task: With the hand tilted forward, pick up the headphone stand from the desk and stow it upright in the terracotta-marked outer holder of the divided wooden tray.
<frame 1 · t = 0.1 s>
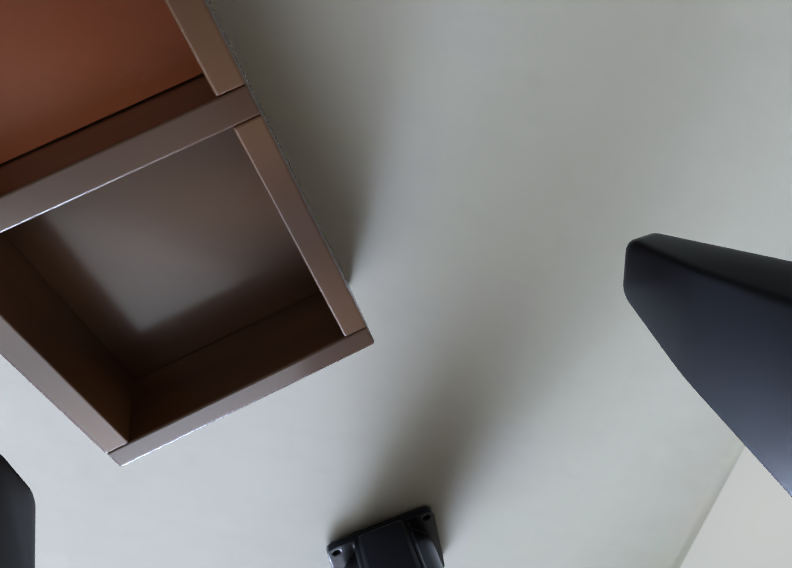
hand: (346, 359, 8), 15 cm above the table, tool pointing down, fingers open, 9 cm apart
divided wooden tray: (97, 133, 19), on the table
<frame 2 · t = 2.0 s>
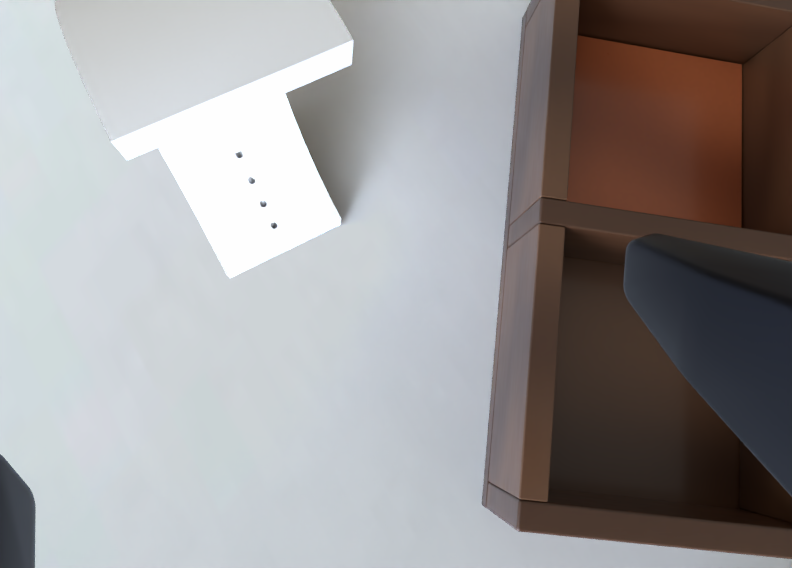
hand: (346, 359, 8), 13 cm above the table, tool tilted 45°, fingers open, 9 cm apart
headphone stand: (251, 184, 22), on the table
divided wooden tray: (629, 259, 23), on the table
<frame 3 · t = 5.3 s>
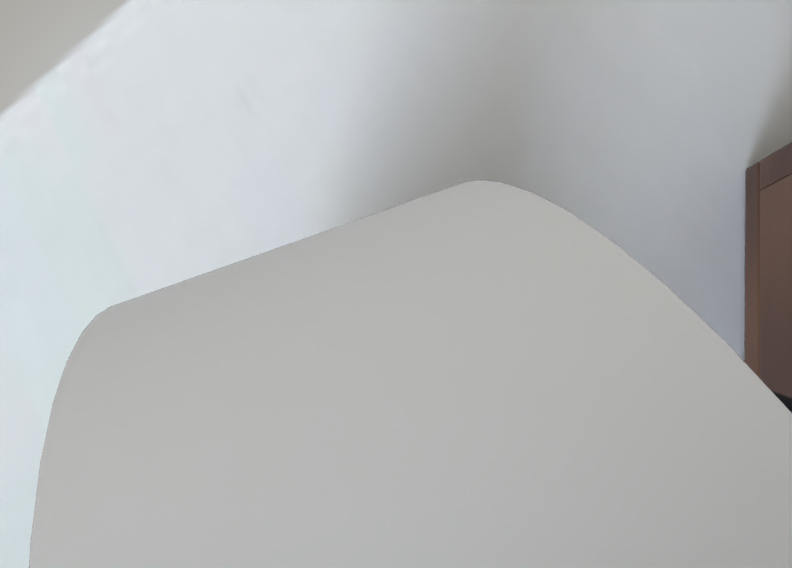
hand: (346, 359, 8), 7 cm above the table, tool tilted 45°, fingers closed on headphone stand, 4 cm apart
headphone stand: (356, 435, 15), on the table, touching gripper
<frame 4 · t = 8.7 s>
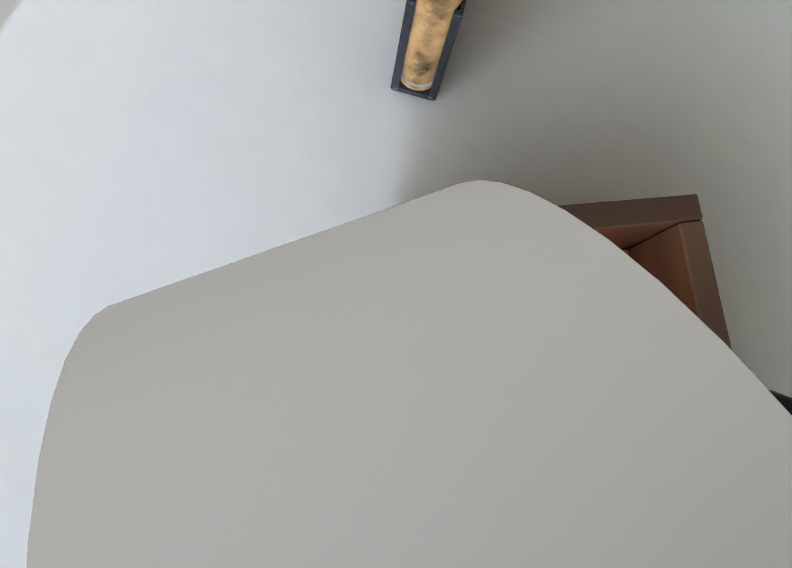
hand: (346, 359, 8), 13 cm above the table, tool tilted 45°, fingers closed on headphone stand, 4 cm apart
headphone stand: (354, 435, 15), point 6 cm above the table, touching gripper
divided wooden tray: (554, 504, 21), on the table
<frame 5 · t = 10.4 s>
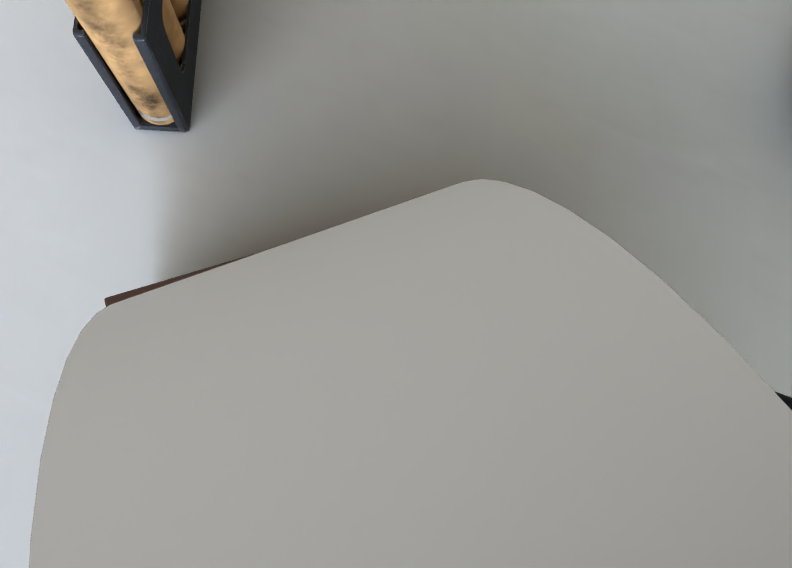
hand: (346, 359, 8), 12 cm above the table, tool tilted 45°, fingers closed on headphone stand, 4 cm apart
headphone stand: (355, 435, 15), point 5 cm above the table, touching gripper
divided wooden tray: (396, 564, 19), on the table
ammunition clip: (177, 0, 22), on the table
when the fingers open (7 cm above the table, at t = 11.9 s): headphone stand stays where it is, resting on divided wooden tray.
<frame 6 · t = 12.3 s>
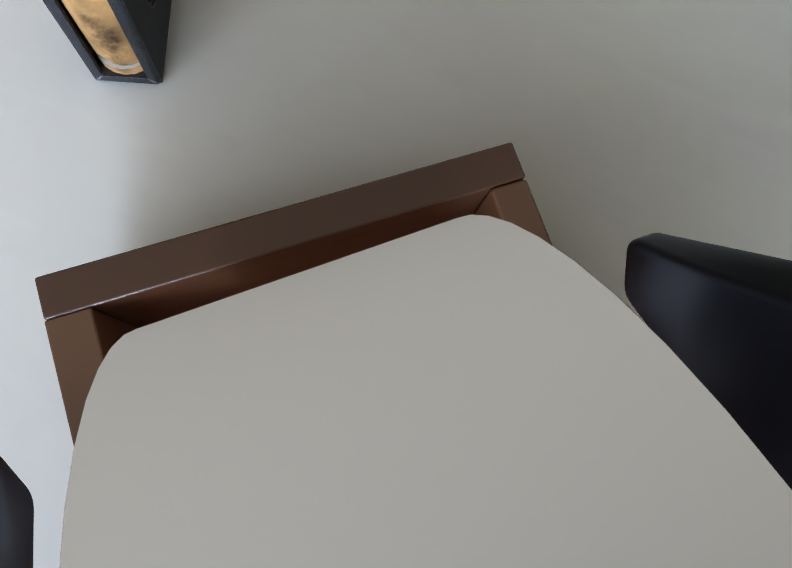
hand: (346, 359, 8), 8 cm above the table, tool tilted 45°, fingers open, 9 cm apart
headphone stand: (357, 444, 15), point 1 cm above the table, touching divided wooden tray
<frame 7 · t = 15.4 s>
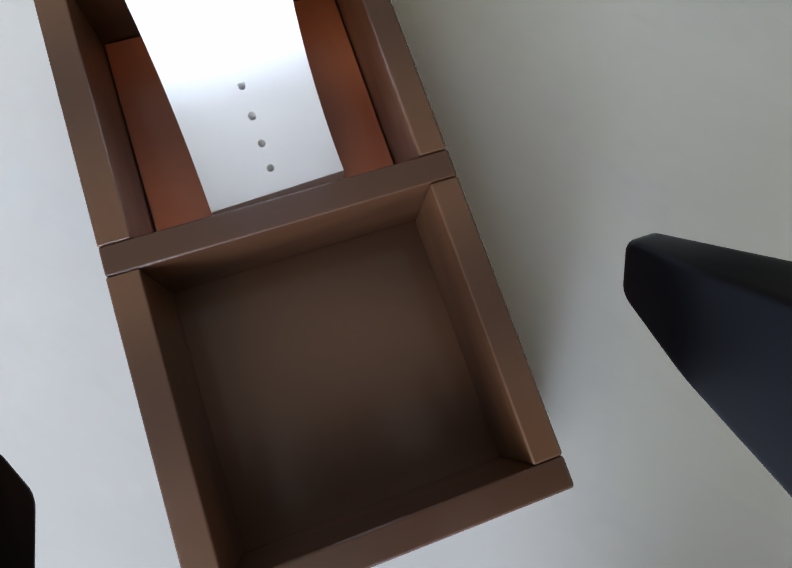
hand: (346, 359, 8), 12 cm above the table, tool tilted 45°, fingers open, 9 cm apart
headphone stand: (253, 126, 21), point 1 cm above the table, touching divided wooden tray
divided wooden tray: (295, 248, 21), on the table
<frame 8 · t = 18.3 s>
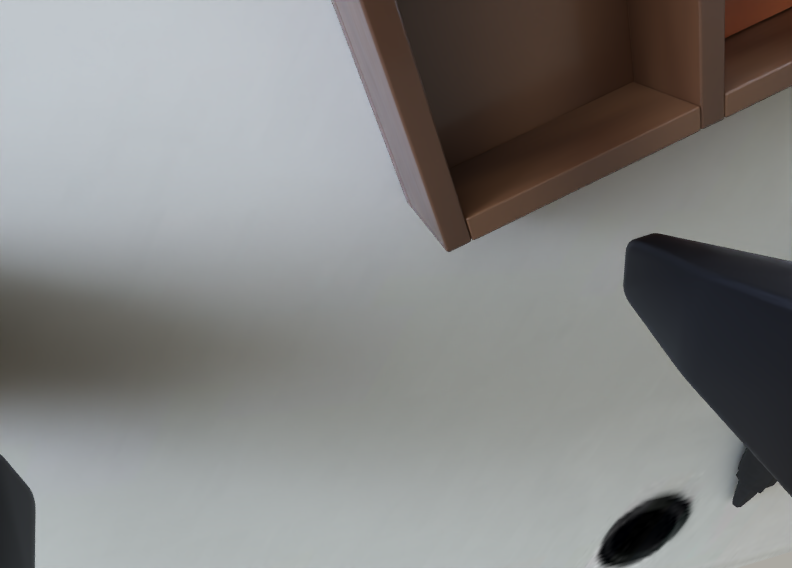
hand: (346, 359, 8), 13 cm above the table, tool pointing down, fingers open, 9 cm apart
microphone: (757, 395, 37), on the table
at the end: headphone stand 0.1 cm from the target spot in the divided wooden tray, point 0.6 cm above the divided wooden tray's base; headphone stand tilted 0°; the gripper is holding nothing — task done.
